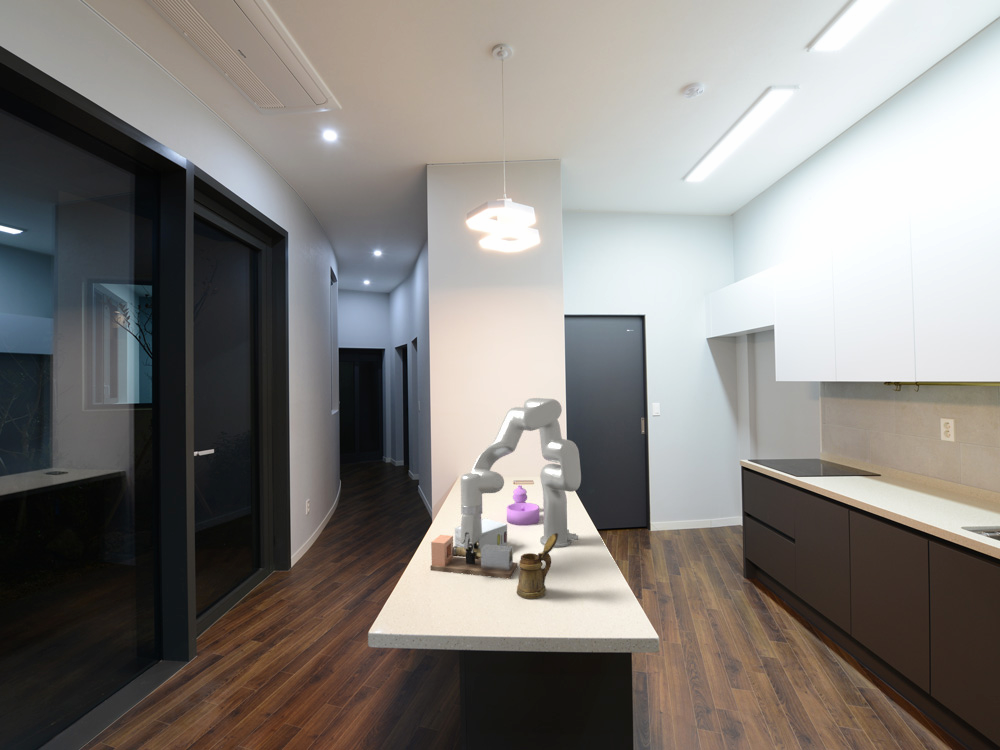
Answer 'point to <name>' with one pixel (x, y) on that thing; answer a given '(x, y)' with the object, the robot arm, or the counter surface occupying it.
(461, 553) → the tube
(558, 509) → the robot arm
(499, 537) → the supplement box
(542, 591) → the wooden mug
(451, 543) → the socket block
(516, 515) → the container set
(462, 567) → the base board
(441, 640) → the counter surface
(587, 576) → the counter surface
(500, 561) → the sleeve
